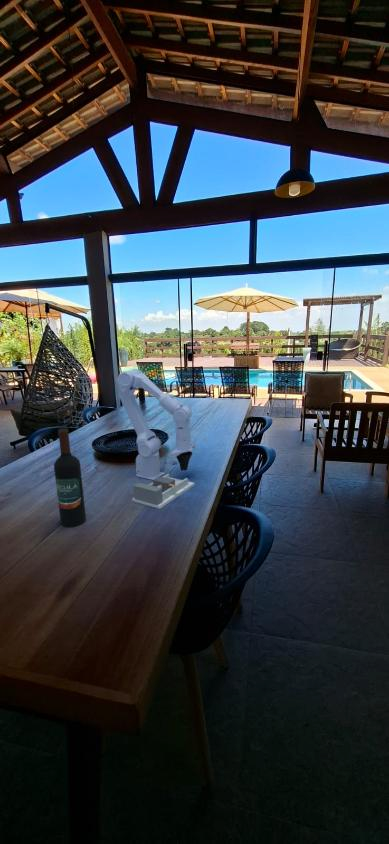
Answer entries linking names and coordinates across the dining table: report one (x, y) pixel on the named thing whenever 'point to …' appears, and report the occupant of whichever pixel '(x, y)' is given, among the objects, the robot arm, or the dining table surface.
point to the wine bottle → (69, 484)
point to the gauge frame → (160, 492)
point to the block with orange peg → (163, 483)
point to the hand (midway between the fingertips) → (184, 469)
